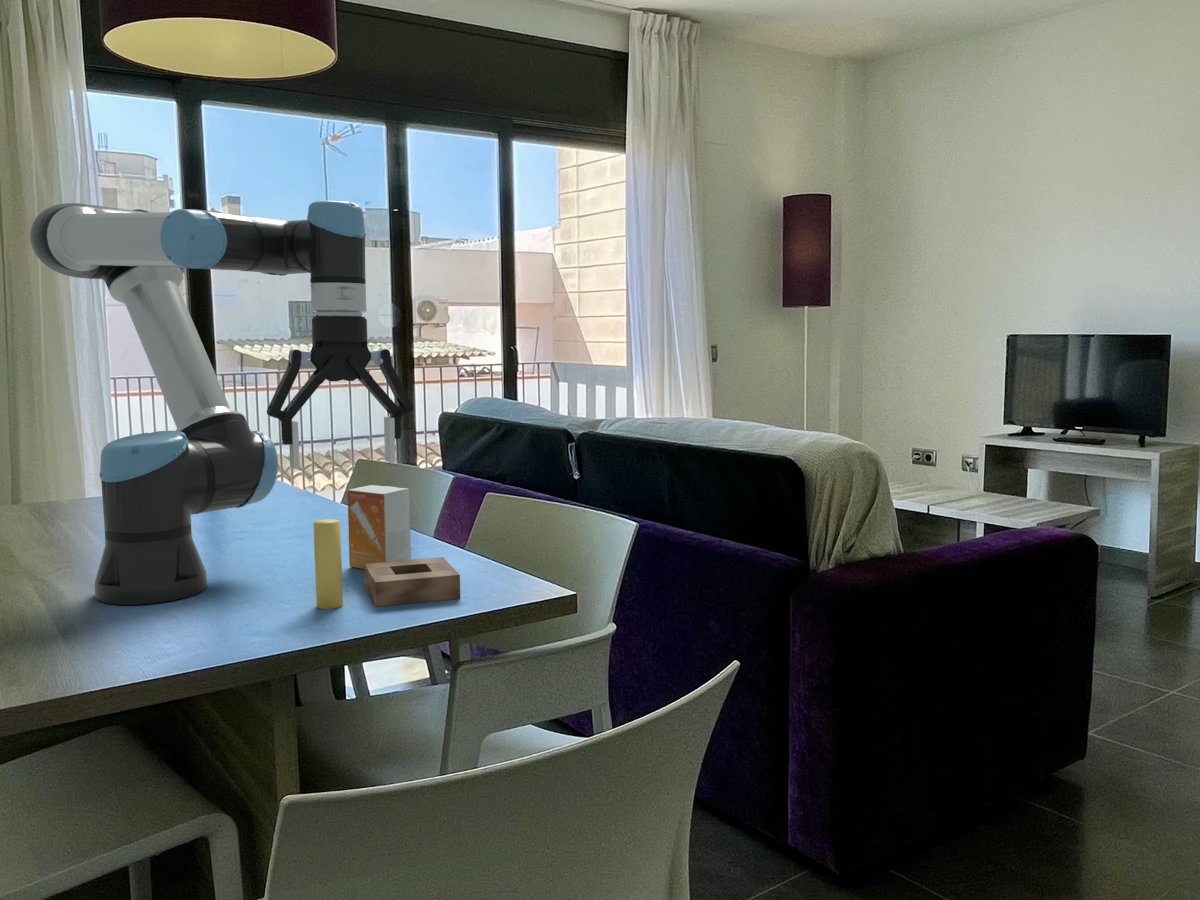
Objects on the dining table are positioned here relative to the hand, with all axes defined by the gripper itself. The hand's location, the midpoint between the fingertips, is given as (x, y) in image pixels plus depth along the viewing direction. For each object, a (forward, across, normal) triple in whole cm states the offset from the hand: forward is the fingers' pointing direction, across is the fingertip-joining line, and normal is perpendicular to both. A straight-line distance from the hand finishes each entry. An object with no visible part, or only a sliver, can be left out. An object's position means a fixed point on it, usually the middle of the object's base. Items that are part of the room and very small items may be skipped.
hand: (343, 464), depth 139 cm
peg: (+19, -3, -3) cm, 20 cm away
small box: (+20, +10, +16) cm, 27 cm away
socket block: (+19, +9, -2) cm, 21 cm away
